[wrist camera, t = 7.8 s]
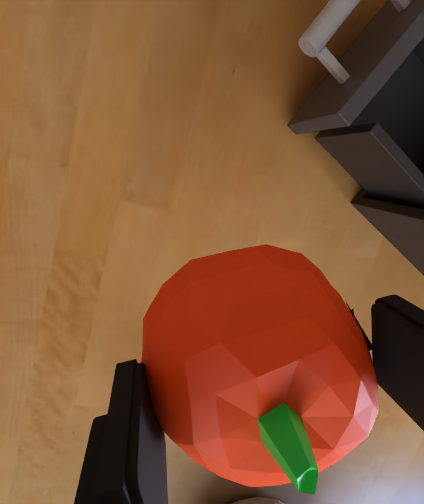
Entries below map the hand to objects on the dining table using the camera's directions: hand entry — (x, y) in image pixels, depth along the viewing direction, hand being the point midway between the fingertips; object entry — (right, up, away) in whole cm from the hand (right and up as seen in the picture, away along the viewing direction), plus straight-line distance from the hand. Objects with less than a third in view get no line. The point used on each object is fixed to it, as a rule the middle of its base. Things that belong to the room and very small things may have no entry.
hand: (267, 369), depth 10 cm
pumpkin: (-1, +1, +3) cm, 3 cm away
